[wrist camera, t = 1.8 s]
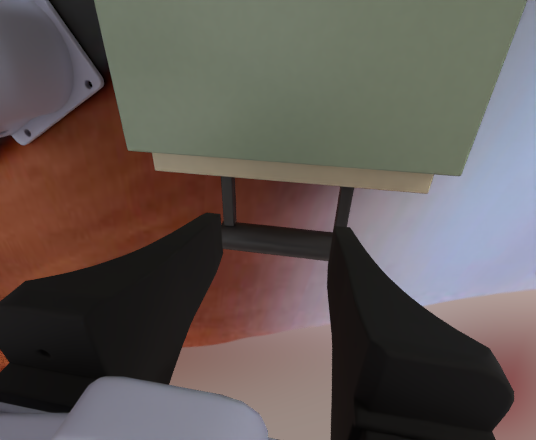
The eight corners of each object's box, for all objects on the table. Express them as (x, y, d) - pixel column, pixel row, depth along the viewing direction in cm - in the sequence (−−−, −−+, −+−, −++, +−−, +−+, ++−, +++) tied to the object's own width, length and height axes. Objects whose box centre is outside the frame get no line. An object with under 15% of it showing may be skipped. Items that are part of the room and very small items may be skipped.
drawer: (379, 220, 21) (398, 282, 15) (207, 203, 22) (169, 254, 17) (497, -251, 11) (674, -555, 5) (168, -219, 12) (44, -426, 7)
